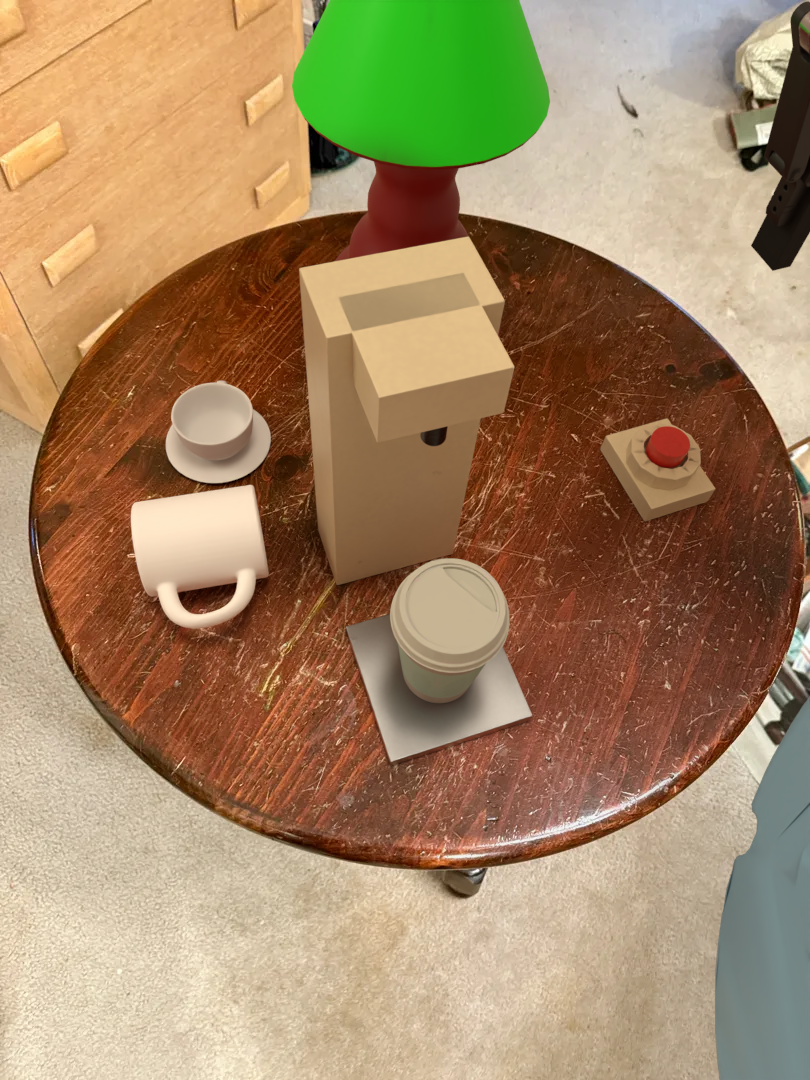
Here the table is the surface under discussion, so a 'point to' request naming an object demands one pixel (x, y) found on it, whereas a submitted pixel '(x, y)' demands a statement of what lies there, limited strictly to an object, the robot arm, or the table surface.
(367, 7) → the table lamp
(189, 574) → the mug
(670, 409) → the table surface
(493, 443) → the table surface
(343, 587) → the table surface
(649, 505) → the control block
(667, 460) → the red push button
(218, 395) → the teacup
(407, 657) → the coffee cup
